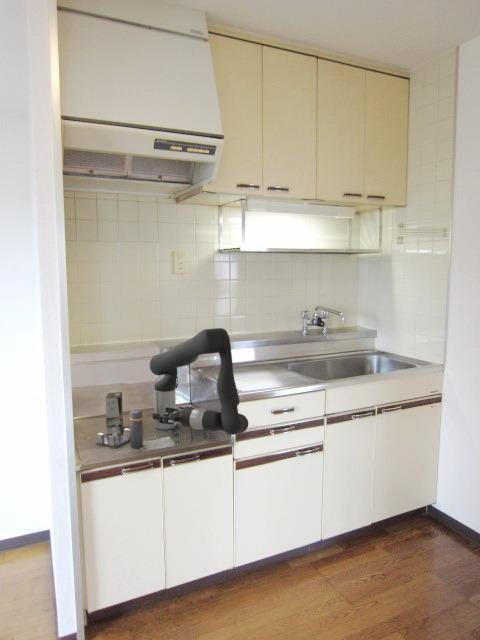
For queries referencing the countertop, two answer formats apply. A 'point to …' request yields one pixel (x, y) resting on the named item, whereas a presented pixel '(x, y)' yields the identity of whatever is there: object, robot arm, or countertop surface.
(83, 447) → the countertop surface
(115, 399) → the coffee box
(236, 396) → the robot arm
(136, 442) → the tube
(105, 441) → the bracket
